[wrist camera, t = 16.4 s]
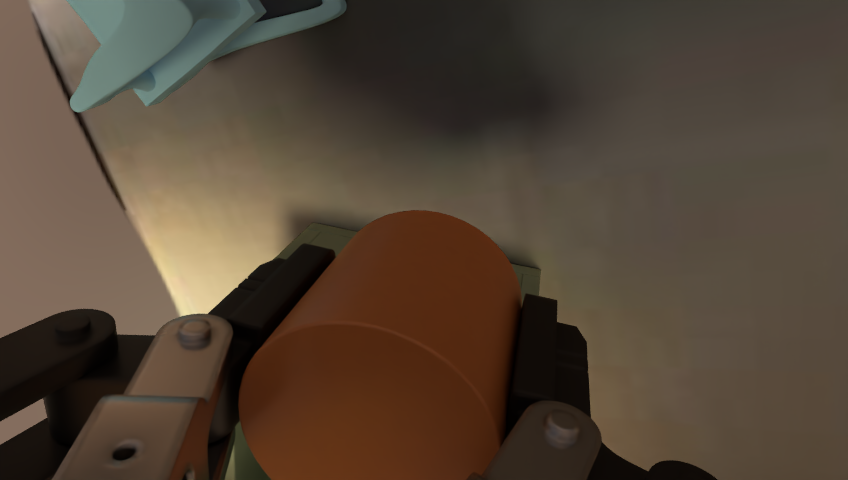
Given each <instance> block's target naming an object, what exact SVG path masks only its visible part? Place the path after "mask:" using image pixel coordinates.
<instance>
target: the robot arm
mask: <svg viewBox="0 0 848 480" xmlns="http://www.w3.org/2000/svg"><path fill="white" fill-rule="evenodd" d="M335 258H336V257H335V251H334V250H333V249H328V248H324V247H320V246H315V245H311V244H306V243H303V244H302V245H300V246H299V247H298V248H297V249H296V250H295V251H294V252H293V253H292V254H291V255H290V256H289V257H288V258H287V259H282V258H276V259H274V260H272V261H269V262H267V263H265V264H262V265H260V266H259V267H258V268H257V269H256V270H254V271H253V272H252V273H251V274H250V275H249V276H248V279H245V280H244V281H243V282H242V283H240V284H239V286H238V288H235V289H234V290H233V291H232V292H231V293H230V294H229V295H227V296H226V297H225V298H224V299H223V300H222V301H221V302H220V303H219V304H218V305H217V306H216V307H214V308H213V309H212V310H211V311H210V312H209V313H208V314H191V315H186V316H182V317H179V318H176V319H173V320H171V321H169V322H168V323H166V324H165V325H163V326H162V327H161V328H160V329H159V331H158V332H157V334H156V335H155V336H153V335H152V336H148V335H147V336H146V335H117V332H116V324H115V320H114V318H113V317H112V316H111V315H109V314H108V313H106V312H104V311H99V310H94V309H76V310H69V311H65V312H61V313H58V314H55V315H52V316H50V317H48V318H45V319H43V320H41V321H38V322H36V323H34V324H32V325H29V326H27V327H25V328H22V329H20V330H18V331H16V332H13V333H11V334H9V335H6V336H4V337H2V338H0V421H2V420H4V419H5V418H7V417H9V416H11V415H13V414H15V413H16V412H18V411H20V410H22V409H24V408H26V407H27V406H29V405H31V404H33V403H35V402H36V401H38V400H40V399H42V398H43V400H44V404H45V409H46V413H47V418H46V419H44V420H43V421H41V422H39V423H37V424H36V425H34V426H32V427H30V428H29V429H27V430H25V431H24V432H22V433H20V434H18V435H17V436H15V437H13V438H11V439H10V440H8V441H6V442H4V443H3V444H1V445H0V480H225V476H226V472H227V468H228V465H229V461H230V457H231V454H232V450H233V446H234V442H235V437H236V434H235V426H236V425H237V424H238V422H239V421H240V419H239V409H238V398H239V389H240V384H241V380H242V376H243V374H244V372H245V369H246V367H247V365H248V363H249V362H250V360H251V359H252V357H253V356H254V354H255V353H256V352H257V351H258V350H259V348H260V347H261V346H262V345H263V344H264V342H265V341H266V340H267V339H268V338H269V336H270V335H271V334H272V333H273V332H274V330H275V329H276V328H277V327H278V326H279V325H280V323H281V322H282V321H283V320H284V319H285V317H286V316H287V315H288V314H289V313H290V311H291V310H292V309H293V308H294V307H295V305H296V304H297V303H298V302H299V301H300V299H301V298H302V297H303V296H304V295H305V294H306V292H307V291H308V290H309V289H310V288H311V286H312V285H313V284H314V283H315V282H316V280H317V279H318V278H319V277H320V276H321V274H322V273H323V272H324V271H325V270H326V269H327V267H328V266H329V265H330V264H331V263H332V261H333V260H334V259H335ZM466 480H717V479H716V478H715V477H713V476H712V475H711V474H709V473H707V472H706V471H704V470H702V469H700V468H698V467H696V466H694V465H691V464H688V463H685V462H681V461H673V460H672V461H662V462H659V463H656V464H655V465H654V466H652V467H651V469H650V470H649V472H648V471H646V470H644V469H642V468H640V467H638V466H636V465H634V464H632V463H630V462H628V461H626V460H625V459H623V458H621V457H619V456H618V455H616V454H615V453H614V452H612V451H611V450H610V449H609V448H607V447H606V446H605V445H604V444H603V443H602V437H601V433H600V431H599V429H598V427H597V425H596V424H595V422H594V421H593V420H592V419H591V414H590V395H589V377H588V360H587V342H586V340H585V339H584V337H583V336H582V334H581V333H580V331H579V330H578V328H577V327H576V326H571V325H567V324H563V323H558V322H557V300H554V299H550V298H545V297H541V296H536V295H532V294H528V293H525V296H524V300H523V304H522V308H521V315H520V322H519V329H518V337H517V344H516V351H515V358H514V365H513V373H512V380H511V387H510V394H509V401H508V408H507V416H506V432H505V440H504V443H503V444H502V446H501V447H500V449H499V450H498V452H497V453H496V455H495V456H494V458H493V459H492V460H491V462H490V463H489V465H488V466H487V468H486V469H485V471H484V472H483V474H482V475H480V474H478V473H477V472H473V473H472V474H471V475H470V476H469V477H468V478H467V479H466Z"/></svg>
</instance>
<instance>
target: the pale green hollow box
mask: <svg viewBox="0 0 848 480" xmlns="http://www.w3.org/2000/svg"><path fill="white" fill-rule="evenodd" d="M356 233H357V232H356V231H351V230H346V229H341V228H337V227H332V226H327V225H322V224H317V223H311V224H310V225H309V226H308V227H307V228H306V229H305V230H304V231H303V232H302V233H301V234H300V235H299V236H298V237H297V238H296V239H295V240H294V241H292V242H291V243H290V244H289V245H288V246H287V247H286V248H285V249H284V250H283V251H282V252H281V253H280V254H279V255H278V256H277V257H275V258H274V259H276V258H282V259H287V258H288V257H289V256H290V255H291V254H292V253H293V252H294V251H295V250H296V249H297V248H298V247H299V246H300V245H302V244H303V243H306V244H311V245H315V246H320V247H324V248H328V249H333V250H334V251H335V257H337V255H338V254H339V253H340V252H341V251H342V249H343V248H344V247H345V246H346V245H347V243H348V242H349V241H350V240H351V239H352V238H353V237H354V236H355V235H356ZM274 259H273V260H274ZM511 265H512V267H513V269H514V271H515V273H516V276H517V278H518V282H519V285H520V289H521V296H522V304H523V300H524V296H525V293H528V294H532V295H536V296H539V285H540V274H541V270H539V269H535V268H530V267H525V266H520V265H515V264H511ZM235 434H236V437H235V442H234V446H233V450H232V454H231V457H230V461H229V465H228V468H227V472H226V476H225V480H271V479H270V477H269V476H268V475H267V474H266V473H265V472H264V470H263V469H262V468H261V466H260V465H259V463H258V462H257V460H256V459H255V457H254V455H253V454H252V452H251V450H250V448H249V446H248V444H247V442H246V439H245V436H244V434H243V431H242V427H241V423H240V421H239V422H238V424H237V425H236V426H235Z"/></svg>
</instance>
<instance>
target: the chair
mask: <svg viewBox="0 0 848 480" xmlns="http://www.w3.org/2000/svg"><path fill="white" fill-rule="evenodd" d="M66 1H67V2H68V3H69V4H70V6H71V7H72V8H73V9H74V10H75V12H76V13H77V14H78V15H79V16H80V18H81V19H82V20H83V21H84V22H85V24H86V25H87V26H88V28H89V29H90V30H91V32H92V33H93V34H94V36H95V37H96V38H97V40H98V41H99V42H100V44H101V46H100V47H99V49H98V50H97V51H96V52H95V53H94V54H93V56H92V58H91V59H90V61H89V62H88V64H87V67H86V69H85V71H84V74H83V77H82V80H81V82H80V84H79V86H78V88H77V90H76V91H75V92H74V94H73V96H72V97H71V100H70V106H71V108H72V109H73V110H74V111H75V112H83V111H86V110H89V109H91V108H94V107H96V106H99V105H102V104H104V103H106V102H108V101H109V100H110V99H112V98H113V97H115V96H116V95H117V94H119V93H121V92H123V91H125V90H128V89H131V88H133V90H134V91H135V92H136V94H137V95H138V96H139V98H140V99H141V100H142V102H143V103H144V104H145V105H146V107H147V106H150V105H154V104H157V103H160V102H161V101H162V100H164V99H165V98H166V97H167V96H168V95H170V94H171V93H172V92H174V91H175V90H177V89H178V88H180V87H181V86H182V85H184V84H185V83H186V82H188V81H189V80H190V79H191V78H193V77H194V76H195V75H196V74H197V73H198V72H199V71H200V70H201V69H202V68H203V67H204V66H205V65H206V64H207V63H208V62H210V61H212V60H215V59H217V58H219V57H221V56H223V55H226V54H228V53H231V52H233V51H236V50H239V49H242V48H245V47H248V46H251V45H255V44H258V43H261V42H265V41H268V40H271V39H275V38H278V37H282V36H285V35H288V34H292V33H295V32H299V31H302V30H305V29H308V28H311V27H314V26H317V25H321V24H324V23H326V22H328V21H331V20H333V19H335V18H337V17H339V16H340V15H342V14H343V13H344V12H345V11H346V9H347V5H346V1H345V0H322V3H323V4H322V5H321V6H319V7H316V8H313V9H310V10H306V11H302V12H298V13H293V14H289V15H285V16H281V17H277V18H273V19H269V20H264V21H260V22H256V21H257V20H258V19H259V18H260V17H262V16H263V15H264V14H265V13H266V12H267V11H266V10H265V8H264V7H263V5H262V4H261V2H260V1H259V0H66ZM254 22H256V23H254Z"/></svg>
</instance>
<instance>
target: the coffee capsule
mask: <svg viewBox="0 0 848 480" xmlns="http://www.w3.org/2000/svg"><path fill="white" fill-rule="evenodd" d="M521 308H522V296H521V289H520V285H519V282H518V278H517V276H516V273H515V271H514V269H513V267H512V265H511V263H510V262H509V260H508V259H507V257H506V255H505V254H504V253H503V252H502V250H501V249H500V248H499V247H498V246H497V244H495V243H494V242H493V241H492V240H491V239H490V238H489V237H488V236H487V235H485V234H484V233H483V232H481V231H480V230H479V229H477V228H476V227H474V226H472V225H470V224H469V223H467V222H465V221H463V220H460V219H458V218H455V217H453V216H450V215H446V214H442V213H439V212H432V211H419V210H411V211H402V212H397V213H393V214H389V215H386V216H383V217H381V218H378V219H376V220H374V221H373V222H371V223H369V224H367V225H366V226H365V227H364V228H362V229H361V230H360V231H358V232H357V233H356V235H355V236H354V237H353V238H352V239H351V240H350V241H349V242H348V243H347V245H346V246H345V247H344V248H343V249H342V251H341V252H340V253H339V254H338V255H337V257H336V258H335V259H334V260H333V261H332V263H331V264H330V265H329V266H328V267H327V269H326V270H325V271H324V272H323V273H322V274H321V276H320V277H319V278H318V279H317V280H316V282H315V283H314V284H313V285H312V286H311V288H310V289H309V290H308V291H307V292H306V294H305V295H304V296H303V297H302V298H301V299H300V301H299V302H298V303H297V304H296V305H295V307H294V308H293V309H292V310H291V311H290V313H289V314H288V315H287V316H286V317H285V319H284V320H283V321H282V322H281V323H280V325H279V326H278V327H277V328H276V329H275V330H274V332H273V333H272V334H271V335H270V336H269V338H268V339H267V340H266V341H265V342H264V344H263V345H262V346H261V347H260V348H259V350H258V351H257V352H256V353H255V354H254V356H253V357H252V359H251V360H250V362H249V363H248V365H247V367H246V369H245V372H244V374H243V376H242V380H241V384H240V389H239V398H238V409H239V419H240V423H241V427H242V431H243V434H244V436H245V439H246V442H247V444H248V446H249V448H250V450H251V452H252V454H253V455H254V457H255V459H256V460H257V462H258V463H259V465H260V466H261V468H262V469H263V470H264V472H265V473H266V474H267V475H268V476H269V477H270V479H271V480H466V479H467V478H468V477H469V476H470V475H471V474H472V473H473V472H477V473H478V474H480V475H482V474H483V472H484V471H485V469H486V468H487V466H488V465H489V463H490V462H491V460H492V459H493V458H494V456H495V455H496V453H497V452H498V450H499V449H500V447H501V446H502V444H503V443H504V440H505V432H506V416H507V408H508V401H509V394H510V387H511V380H512V373H513V365H514V358H515V351H516V344H517V337H518V329H519V322H520V315H521Z"/></svg>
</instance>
